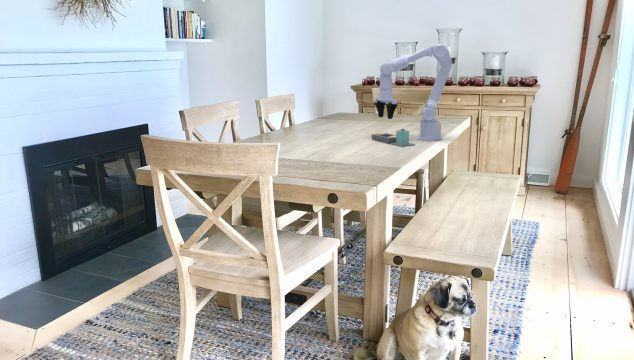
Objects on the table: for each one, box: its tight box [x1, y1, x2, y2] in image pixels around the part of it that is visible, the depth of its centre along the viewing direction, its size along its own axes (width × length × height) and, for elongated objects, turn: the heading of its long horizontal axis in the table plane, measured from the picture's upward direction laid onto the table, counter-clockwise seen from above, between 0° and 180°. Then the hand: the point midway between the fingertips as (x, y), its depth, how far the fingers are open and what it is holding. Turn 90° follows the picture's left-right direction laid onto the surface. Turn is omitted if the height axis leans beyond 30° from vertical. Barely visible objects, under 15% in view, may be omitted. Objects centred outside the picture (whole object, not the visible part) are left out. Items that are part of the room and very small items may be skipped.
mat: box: [389, 142, 416, 148], centre depth 236 cm, size 8×8×1 cm
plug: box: [395, 128, 410, 145], centre depth 235 cm, size 4×4×7 cm
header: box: [371, 132, 396, 145], centre depth 246 cm, size 8×14×3 cm, turn 28°
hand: (385, 118), depth 250 cm, fingers open, 7 cm apart
